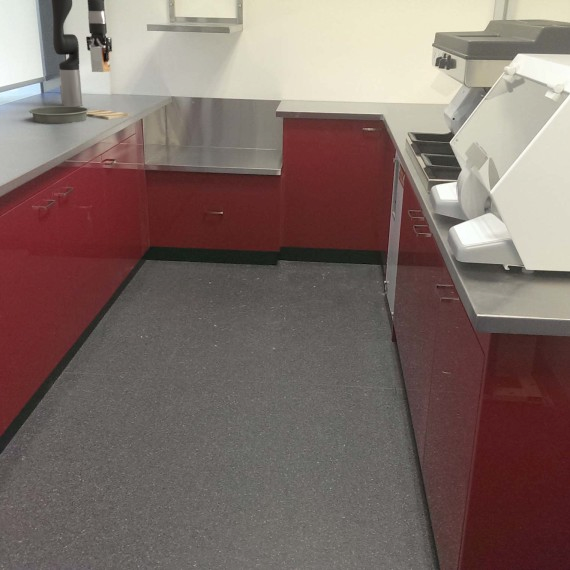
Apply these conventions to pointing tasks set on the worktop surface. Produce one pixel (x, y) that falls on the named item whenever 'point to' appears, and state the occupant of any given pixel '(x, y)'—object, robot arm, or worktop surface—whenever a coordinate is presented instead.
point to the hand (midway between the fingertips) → (100, 61)
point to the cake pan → (59, 114)
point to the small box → (98, 60)
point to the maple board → (106, 114)
